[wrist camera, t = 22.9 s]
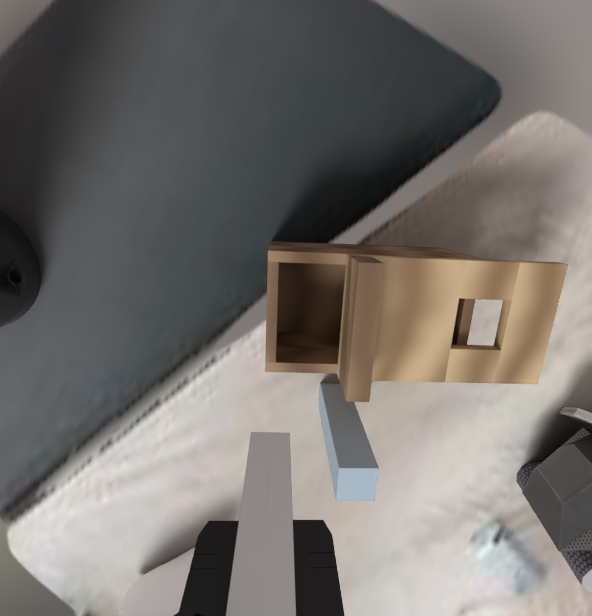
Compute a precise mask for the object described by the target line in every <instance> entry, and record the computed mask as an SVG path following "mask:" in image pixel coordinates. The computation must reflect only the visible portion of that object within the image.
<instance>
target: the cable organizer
mask: <svg viewBox="0 0 592 616" xmlns="http://www.w3.org/2000/svg"><path fill="white" fill-rule="evenodd" d="M194 550H195V547H194V548H192V549H190V550H189V551H187V552H185V553H183V554H181V555H180V556H178V557H177V558H175V559H173V560H171V561H169V562H167V563H165V564H163V565H160V566H158V567H156V568H155V569H153V570H151V571H149V572H147V573H146V574H144V575H142V576H141V577H140V578H138V579H137V580H136V581H135V582H134V583H133V584H132V586H131V587H130V588H129V590H128V592H127V594H126V597H125V599H124V602H123V604H122V607H121V609H120V611H119V614H118V616H174V615H175V614H177V613H178V612H179V609H180V605H181V601H182V597H183V593H184V589H185V585H186V581H187V578H188V574H189V571H190V566H191V562H192V558H193V555H194Z"/></svg>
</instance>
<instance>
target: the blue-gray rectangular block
mask: <svg viewBox="0 0 592 616" xmlns="http://www.w3.org/2000/svg"><path fill="white" fill-rule="evenodd" d="M319 412H320V418H321V423H322V428H323V434H324V439H325V444H326V450H327V455H328V461H329V466H330V471H331V477H332V482H333V487H334V493H335V498H336V501H375V495H376V487H377V479H378V471H379V468H378V465H377V462H376V460H375V457H374V454H373V452H372V449H371V446H370V444H369V441H368V438H367V436H366V433H365V430H364V428H363V425H362V422H361V420H360V417H359V414H358V412H357V409H356V406H355V404H354V402H346V400H345V397H344V394H343V391H342V388H341V385H340V383H320V393H319Z"/></svg>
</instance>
